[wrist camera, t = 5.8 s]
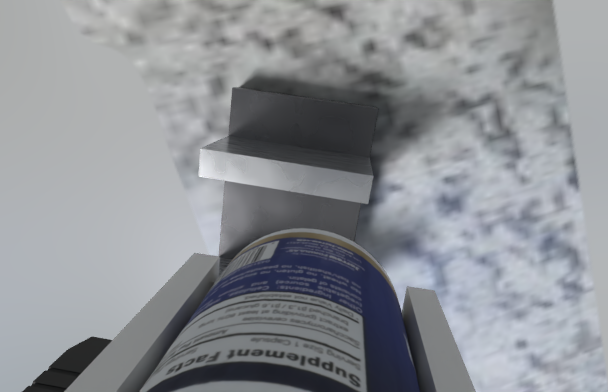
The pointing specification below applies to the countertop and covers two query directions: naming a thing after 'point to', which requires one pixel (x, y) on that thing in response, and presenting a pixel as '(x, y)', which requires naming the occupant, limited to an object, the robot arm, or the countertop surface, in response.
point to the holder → (290, 166)
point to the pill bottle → (293, 324)
